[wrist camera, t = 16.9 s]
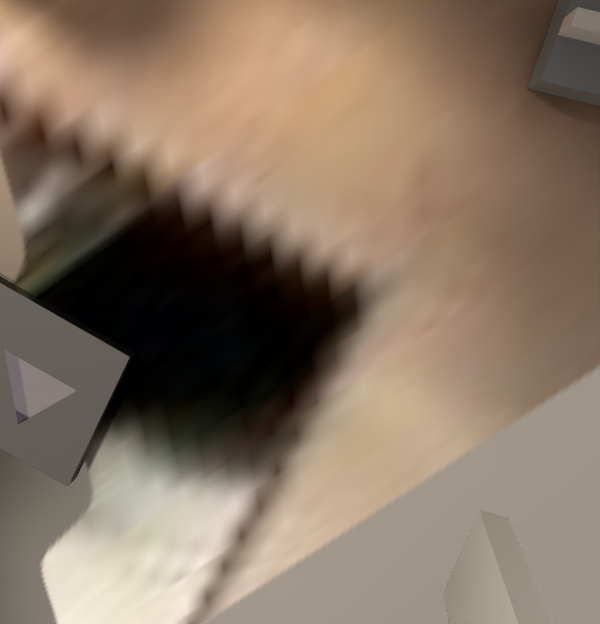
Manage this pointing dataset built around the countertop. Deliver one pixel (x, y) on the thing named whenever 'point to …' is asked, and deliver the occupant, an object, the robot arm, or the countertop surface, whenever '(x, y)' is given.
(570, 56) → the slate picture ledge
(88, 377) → the play button award
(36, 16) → the countertop surface
